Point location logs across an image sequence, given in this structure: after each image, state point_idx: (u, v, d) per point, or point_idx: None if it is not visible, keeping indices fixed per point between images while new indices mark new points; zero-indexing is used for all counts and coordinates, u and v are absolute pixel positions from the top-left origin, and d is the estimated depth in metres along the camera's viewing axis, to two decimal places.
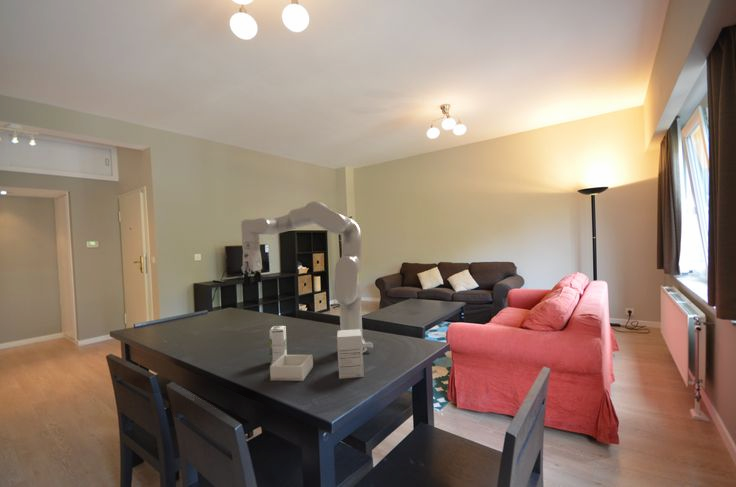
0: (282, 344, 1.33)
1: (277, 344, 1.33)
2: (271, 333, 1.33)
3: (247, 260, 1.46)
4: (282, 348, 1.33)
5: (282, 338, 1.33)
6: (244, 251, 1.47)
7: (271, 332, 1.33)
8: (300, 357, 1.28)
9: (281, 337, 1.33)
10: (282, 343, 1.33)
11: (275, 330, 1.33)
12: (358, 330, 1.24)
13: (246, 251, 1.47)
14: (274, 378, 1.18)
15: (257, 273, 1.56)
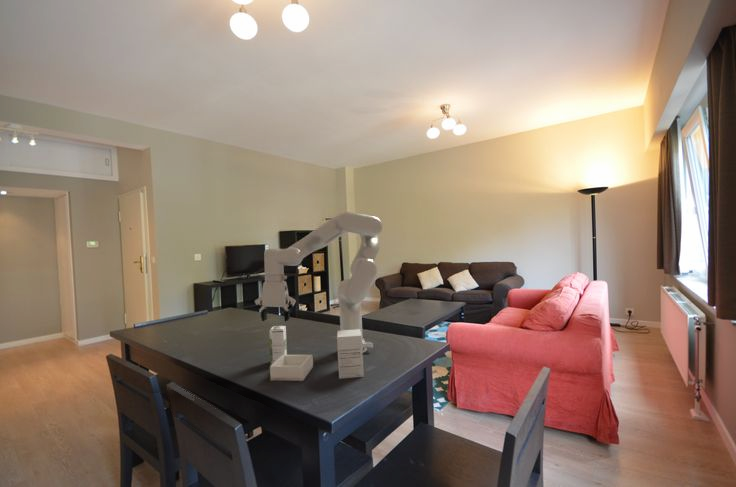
0: (282, 344, 1.33)
1: (277, 344, 1.33)
2: (271, 333, 1.33)
3: (287, 293, 1.35)
4: (282, 348, 1.33)
5: (282, 338, 1.33)
6: (283, 284, 1.34)
7: (271, 332, 1.33)
8: (300, 357, 1.28)
9: (281, 337, 1.33)
10: (282, 343, 1.33)
11: (275, 330, 1.33)
12: (358, 330, 1.24)
13: (285, 283, 1.35)
14: (274, 378, 1.18)
15: (264, 310, 1.36)
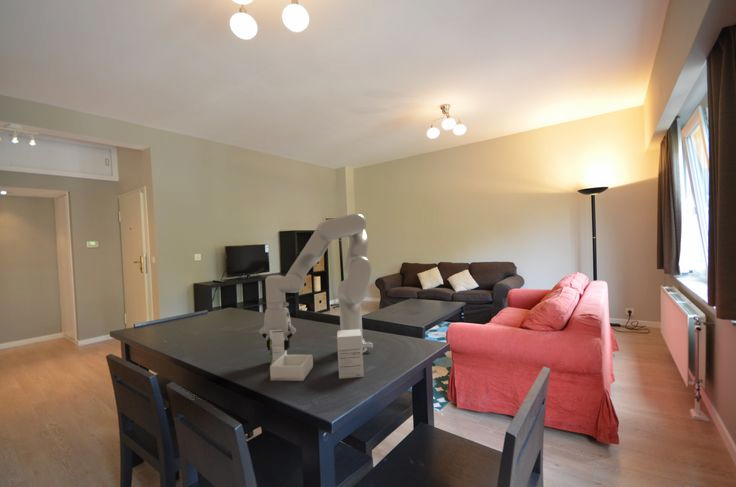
0: (282, 344, 1.33)
1: (277, 344, 1.33)
2: (271, 333, 1.33)
3: (289, 320, 1.35)
4: (282, 348, 1.33)
5: (282, 338, 1.33)
6: (285, 311, 1.34)
7: (271, 332, 1.33)
8: (300, 357, 1.28)
9: (281, 337, 1.33)
10: (282, 343, 1.33)
11: (275, 330, 1.33)
12: (358, 330, 1.24)
13: (287, 310, 1.35)
14: (274, 378, 1.18)
15: None
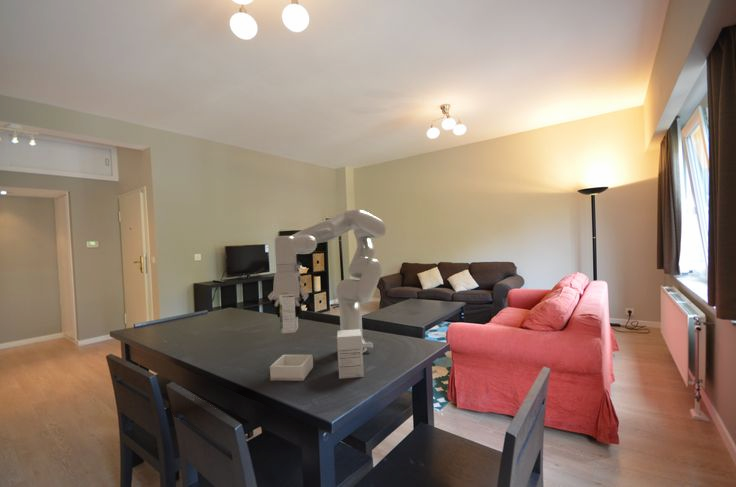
0: (293, 310, 1.21)
1: (287, 309, 1.21)
2: (281, 298, 1.21)
3: (300, 284, 1.23)
4: (293, 314, 1.21)
5: (293, 303, 1.21)
6: (296, 274, 1.22)
7: (281, 297, 1.21)
8: (300, 357, 1.28)
9: (291, 302, 1.21)
10: (293, 309, 1.21)
11: (285, 295, 1.21)
12: (358, 330, 1.24)
13: (298, 274, 1.23)
14: (274, 378, 1.18)
15: None
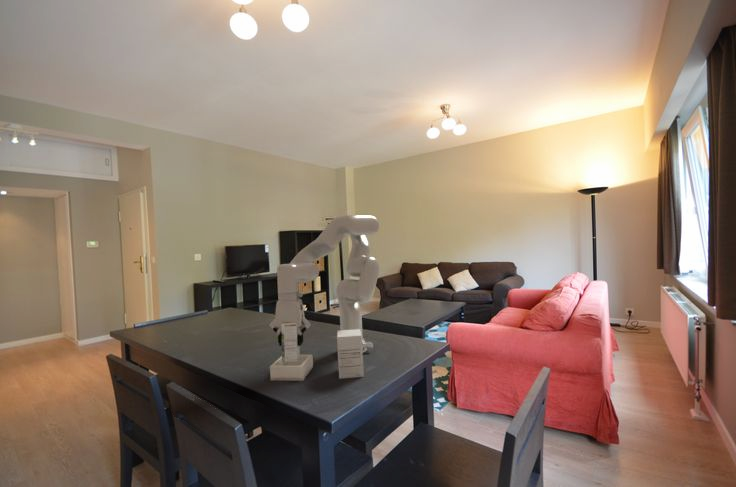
0: (295, 339, 1.21)
1: (289, 339, 1.20)
2: (283, 327, 1.20)
3: (302, 312, 1.23)
4: (295, 343, 1.21)
5: (295, 332, 1.21)
6: (299, 302, 1.22)
7: (283, 326, 1.20)
8: (300, 357, 1.28)
9: (294, 331, 1.21)
10: (295, 338, 1.21)
11: (287, 324, 1.20)
12: (358, 330, 1.24)
13: (300, 302, 1.23)
14: (274, 378, 1.18)
15: None
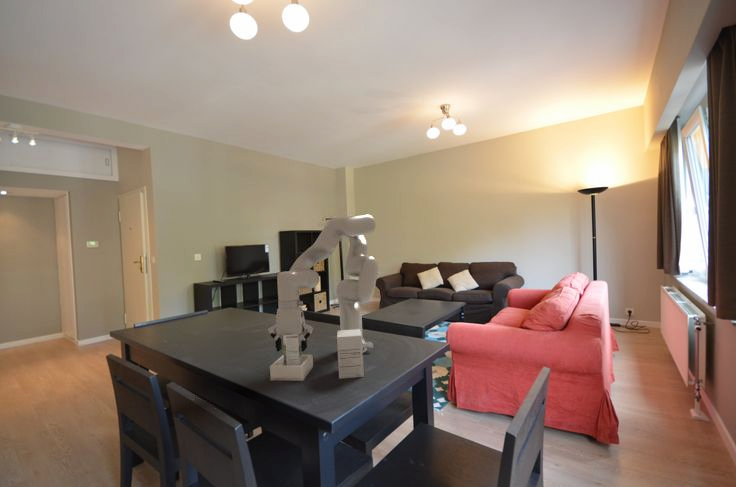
0: (297, 351, 1.21)
1: (291, 350, 1.21)
2: (285, 338, 1.21)
3: (303, 320, 1.23)
4: (297, 355, 1.21)
5: (297, 344, 1.21)
6: (299, 310, 1.22)
7: (285, 337, 1.21)
8: None
9: (295, 343, 1.21)
10: (297, 350, 1.21)
11: (289, 335, 1.21)
12: (358, 330, 1.24)
13: (301, 310, 1.23)
14: (274, 378, 1.18)
15: (279, 339, 1.24)
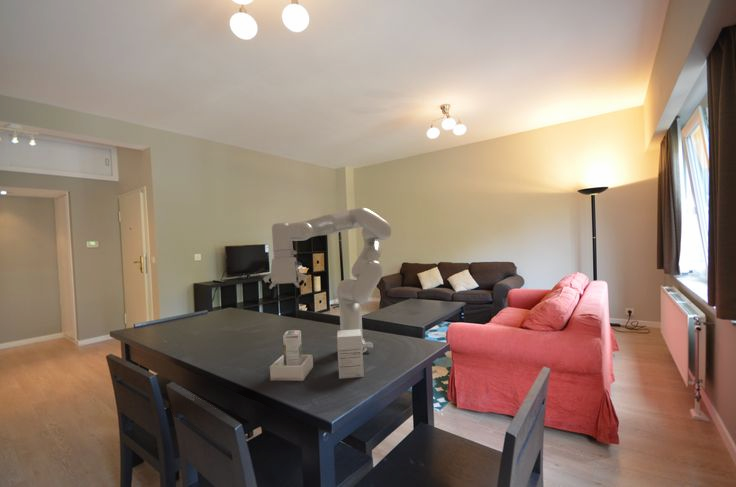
0: (297, 351, 1.21)
1: (291, 350, 1.21)
2: (285, 338, 1.21)
3: (297, 269, 1.30)
4: (297, 355, 1.21)
5: (297, 344, 1.21)
6: (293, 259, 1.28)
7: (285, 337, 1.21)
8: None
9: (295, 343, 1.21)
10: (297, 350, 1.21)
11: (289, 335, 1.21)
12: (358, 330, 1.24)
13: (295, 259, 1.29)
14: (274, 378, 1.18)
15: (274, 287, 1.31)
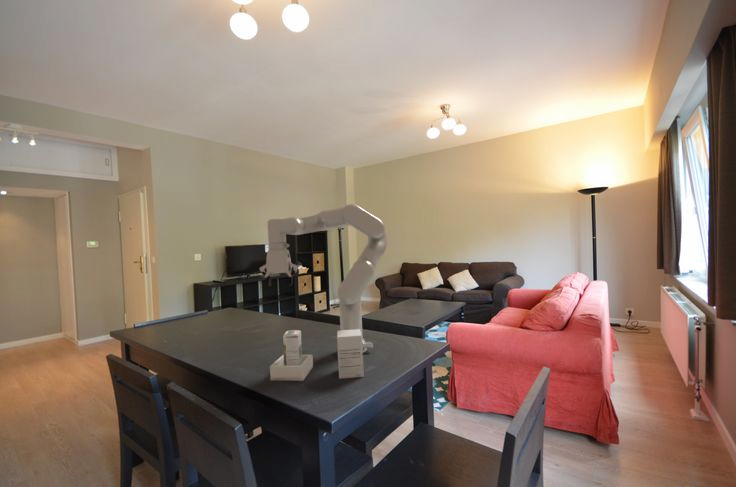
0: (297, 351, 1.21)
1: (291, 350, 1.21)
2: (285, 338, 1.21)
3: (289, 260, 1.44)
4: (297, 355, 1.21)
5: (297, 344, 1.21)
6: (286, 251, 1.43)
7: (285, 337, 1.21)
8: None
9: (295, 343, 1.21)
10: (297, 350, 1.21)
11: (289, 335, 1.21)
12: (358, 330, 1.24)
13: (287, 251, 1.44)
14: (274, 378, 1.18)
15: (269, 276, 1.45)
